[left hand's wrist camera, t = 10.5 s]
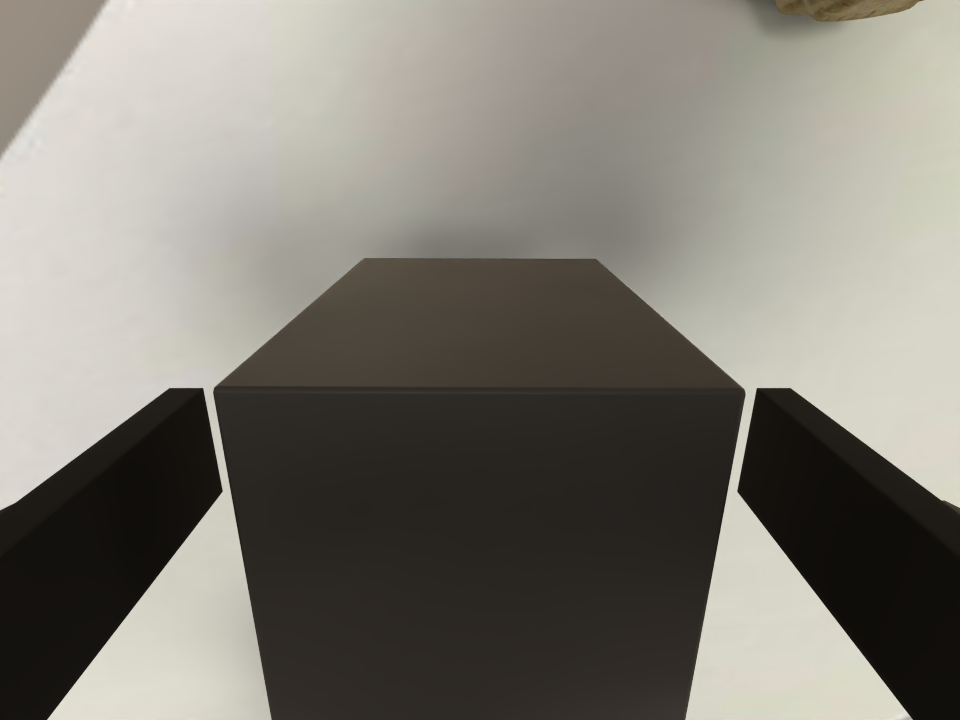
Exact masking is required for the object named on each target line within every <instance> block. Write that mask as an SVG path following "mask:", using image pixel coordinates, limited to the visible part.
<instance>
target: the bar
mask: <svg viewBox="0 0 960 720" xmlns="http://www.w3.org/2000/svg"><path fill="white" fill-rule="evenodd" d="M213 394H214V400H215V405H216V411H217V416H218V422H219V428H220V433H221V439H222V444H223V450H224V456H225V461H226V467H227V472H228V478H229V484H230V489H231V495H232V500H233V506H234V512H235V517H236V523H237V528H238V534H239V539H240V545H241V551H242V556H243V562H244V567H245V573H246V579H247V584H248V590H249V595H250V601H251V607H252V612H253V618H254V623H255V629H256V635H257V640H258V646H259V651H260V657H261V662H262V668H263V674H264V679H265V685H266V690H267V696H268V702H269V707H270V713H271V718H272V720H685V718H686V713H687V707H688V702H689V696H690V691H691V686H692V680H693V675H694V669H695V664H696V659H697V653H698V648H699V642H700V637H701V632H702V626H703V621H704V615H705V610H706V605H707V599H708V594H709V588H710V583H711V578H712V572H713V567H714V561H715V556H716V551H717V545H718V540H719V534H720V529H721V524H722V518H723V513H724V507H725V502H726V497H727V491H728V486H729V480H730V475H731V470H732V464H733V459H734V453H735V448H736V443H737V437H738V432H739V426H740V421H741V416H742V410H743V405H744V399H745V390H744V389H743V388H742V387H741V386H740V385H739V384H738V383H737V382H735V381H734V380H733V379H732V378H731V377H730V376H729V375H727V374H726V373H725V372H724V371H723V370H722V369H721V368H719V367H718V366H717V365H716V364H715V363H714V362H713V361H712V360H710V359H709V358H708V357H707V356H706V355H705V354H704V353H702V352H701V351H700V350H699V349H698V348H697V347H696V346H694V345H693V344H692V343H691V342H690V341H689V340H688V339H686V338H685V337H684V336H683V335H682V334H681V333H680V332H678V331H677V330H676V329H675V328H674V327H673V326H672V325H670V324H669V323H668V322H667V321H666V320H665V319H664V318H662V317H661V316H660V315H659V314H658V313H657V312H656V311H655V310H653V309H652V308H651V307H650V306H649V305H648V304H647V303H645V302H644V301H643V300H642V299H641V298H640V297H639V296H637V295H636V294H635V293H634V292H633V291H632V290H631V289H629V288H628V287H627V286H626V285H625V284H624V283H623V282H621V281H620V280H619V279H618V278H617V277H616V276H615V275H613V274H612V273H611V272H610V271H609V270H608V269H607V268H605V267H604V266H603V265H602V264H601V263H600V262H599V261H597V260H596V259H433V258H365V259H363V260H362V261H360V262H359V263H358V264H357V265H356V266H355V267H353V268H352V269H351V270H350V271H349V272H348V273H347V274H345V275H344V276H343V277H342V278H341V279H340V280H338V281H337V282H336V283H335V284H334V285H333V286H331V287H330V288H329V289H328V290H327V291H326V292H324V293H323V294H322V295H321V296H320V297H319V298H318V299H316V300H315V301H314V302H313V303H312V304H311V305H309V306H308V307H307V308H306V309H305V310H304V311H302V312H301V313H300V314H299V315H298V316H297V317H296V318H294V319H293V320H292V321H291V322H290V323H289V324H287V325H286V326H285V327H284V328H283V329H282V330H280V331H279V332H278V333H277V334H276V335H275V336H274V337H272V338H271V339H270V340H269V341H268V342H267V343H265V344H264V345H263V346H262V347H261V348H260V349H258V350H257V351H256V352H255V353H254V354H253V355H251V356H250V357H249V358H248V359H247V360H246V361H245V362H243V363H242V364H241V365H240V366H239V367H238V368H236V369H235V370H234V371H233V372H232V373H231V374H229V375H228V376H227V377H226V378H225V379H224V380H223V381H221V382H220V383H219V384H218V385H217V386H216V387H214V391H213Z"/></svg>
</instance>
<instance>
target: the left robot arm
mask: <svg viewBox="0 0 960 720" xmlns="http://www.w3.org/2000/svg"><path fill="white" fill-rule="evenodd" d="M222 492H223V491H222V485H221V480H220V475H219V470H218V464H217V459H216V454H215V448H214V443H213V438H212V433H211V427H210V422H209V417H208V411H207V406H206V401H205V396H204V390H203V388H169V389H168V390H167V391H165V392H164V393H163V394H161V395H160V396H158V397H157V398H156V399H154V400H153V401H152V402H150V403H149V404H148V405H146V406H145V407H144V408H142V409H141V410H140V411H138V412H137V413H136V414H134V415H133V416H132V417H130V418H129V419H128V420H126V421H125V422H124V423H122V424H121V425H120V426H118V427H117V428H115V429H114V430H113V431H111V432H110V433H109V434H107V435H106V436H105V437H103V438H102V439H101V440H99V441H98V442H97V443H95V444H94V445H93V446H91V447H90V448H89V449H87V450H86V451H85V452H83V453H82V454H81V455H79V456H78V457H77V458H75V459H74V460H73V461H71V462H70V463H68V464H67V465H66V466H64V467H63V468H62V469H60V470H59V471H58V472H56V473H55V474H54V475H52V476H51V477H50V478H48V479H47V480H46V481H44V482H43V483H42V484H40V485H39V486H38V487H36V488H35V489H34V490H32V491H31V492H30V493H28V494H27V495H26V496H24V497H23V498H21V499H20V500H19V501H17V502H16V503H14V504H12V505H10V506H8V507H6V508H4V509H2V510H0V720H47V719H48V718H49V716H50V715H51V714H52V713H53V711H54V710H55V709H56V707H57V706H58V705H59V703H60V702H61V701H62V700H63V698H64V697H65V696H66V694H67V693H68V692H69V690H70V689H71V688H72V687H73V685H74V684H75V683H76V681H77V680H78V679H79V678H80V676H81V675H82V674H83V672H84V671H85V670H86V668H87V667H88V666H89V665H90V663H91V662H92V661H93V659H94V658H95V657H96V655H97V654H98V653H99V652H100V650H101V649H102V648H103V646H104V645H105V644H106V642H107V641H108V640H109V639H110V637H111V636H112V635H113V633H114V632H115V631H116V629H117V628H118V627H119V626H120V624H121V623H122V622H123V620H124V619H125V618H126V616H127V615H128V614H129V613H130V611H131V610H132V609H133V607H134V606H135V605H136V603H137V602H138V601H139V600H140V598H141V597H142V596H143V594H144V593H145V592H146V590H147V589H148V588H149V587H150V585H151V584H152V583H153V581H154V580H155V579H156V577H157V576H158V575H159V574H160V572H161V571H162V570H163V568H164V567H165V566H166V564H167V563H168V562H169V561H170V559H171V558H172V557H173V555H174V554H175V553H176V551H177V550H178V549H179V548H180V546H181V545H182V544H183V542H184V541H185V540H186V538H187V537H188V536H189V535H190V533H191V532H192V531H193V529H194V528H195V527H196V525H197V524H198V523H199V522H200V520H201V519H202V518H203V516H204V515H205V514H206V512H207V511H208V510H209V509H210V507H211V506H212V505H213V503H214V502H215V501H216V499H217V498H218V497H219V496H220V494H221V493H222ZM737 492H738V493H739V494H740V496H741V497H742V498H743V499H744V501H745V502H746V503H747V505H748V506H749V507H750V509H751V510H752V511H753V512H754V514H755V515H756V516H757V518H758V519H759V520H760V522H761V523H762V524H763V525H764V527H765V528H766V529H767V531H768V532H769V533H770V535H771V536H772V537H773V538H774V540H775V541H776V542H777V544H778V545H779V546H780V548H781V549H782V550H783V551H784V553H785V554H786V555H787V557H788V558H789V559H790V561H791V562H792V563H793V564H794V566H795V567H796V568H797V570H798V571H799V572H800V574H801V575H802V576H803V577H804V579H805V580H806V581H807V583H808V584H809V585H810V587H811V588H812V589H813V590H814V592H815V593H816V594H817V596H818V597H819V598H820V600H821V601H822V602H823V603H824V605H825V606H826V607H827V609H828V610H829V611H830V613H831V614H832V615H833V616H834V618H835V619H836V620H837V622H838V623H839V624H840V626H841V627H842V628H843V629H844V631H845V632H846V633H847V635H848V636H849V637H850V639H851V640H852V641H853V642H854V644H855V645H856V646H857V648H858V649H859V650H860V651H861V653H862V654H863V655H864V657H865V658H866V659H867V661H868V662H869V663H870V664H871V666H872V667H873V668H874V670H875V671H876V672H877V674H878V675H879V676H880V677H881V679H882V680H883V681H884V683H885V684H886V685H887V687H888V688H889V689H890V690H891V692H892V693H893V694H894V696H895V697H896V698H897V700H898V701H899V702H900V703H901V705H902V706H903V707H904V709H905V710H906V711H907V713H908V714H909V715H910V716H911V718H912V719H913V720H960V508H959V507H957V506H955V505H953V504H951V503H948V502H946V501H941V500H940V499H939V498H937V497H936V496H935V495H933V494H932V493H930V492H929V491H928V490H926V489H925V488H924V487H922V486H921V485H920V484H918V483H917V482H916V481H914V480H913V479H912V478H910V477H909V476H908V475H906V474H905V473H904V472H902V471H901V470H900V469H898V468H897V467H896V466H894V465H893V464H892V463H890V462H889V461H888V460H886V459H885V458H883V457H882V456H881V455H879V454H878V453H877V452H875V451H874V450H873V449H871V448H870V447H869V446H867V445H866V444H865V443H863V442H862V441H861V440H859V439H858V438H857V437H855V436H854V435H853V434H851V433H850V432H849V431H847V430H846V429H845V428H843V427H842V426H840V425H839V424H838V423H836V422H835V421H834V420H832V419H831V418H830V417H828V416H827V415H826V414H824V413H823V412H822V411H820V410H819V409H818V408H816V407H815V406H814V405H812V404H811V403H810V402H808V401H807V400H806V399H804V398H803V397H802V396H800V395H799V394H798V393H796V392H795V391H793V390H792V389H791V388H757V390H756V396H755V401H754V406H753V412H752V417H751V422H750V427H749V433H748V438H747V443H746V448H745V454H744V459H743V464H742V470H741V475H740V480H739V485H738V491H737Z"/></svg>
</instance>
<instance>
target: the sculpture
mask: <svg viewBox="0 0 960 720" xmlns="http://www.w3.org/2000/svg"><path fill="white" fill-rule="evenodd" d="M919 1H922V0H775V3H776V6H777V8H778V10H779V11H780V12H781V13H783V14H796V15H800V14H810V15H811V17H812V18H813V19H815V20H816V21H845V20H856V19H863V18H870V17H876V16H881V15H886V14H892V13H897V12H901V11H904V10H907V9H909V8H911V7H913V6H914V5H915V4H916V3H917V2H919Z"/></svg>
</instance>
